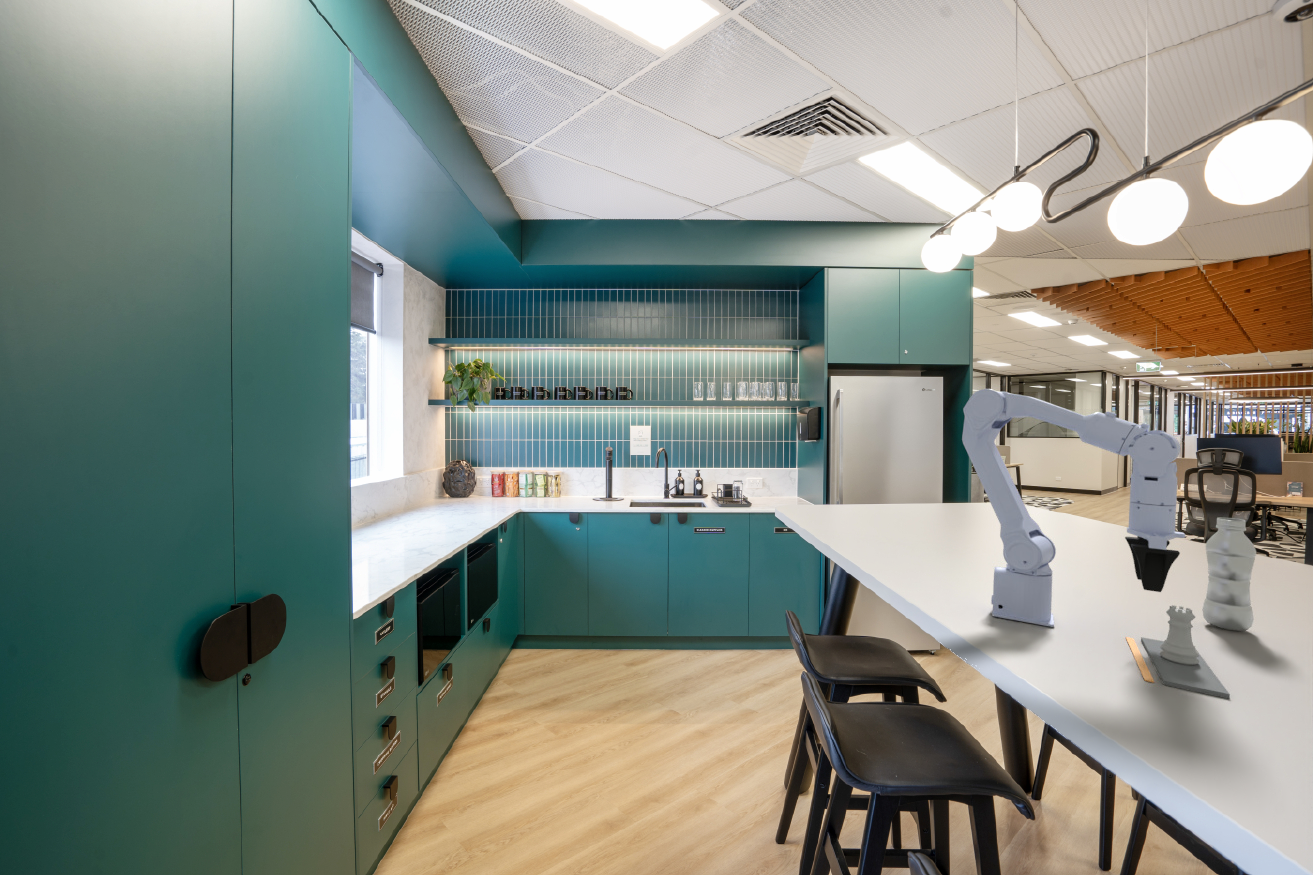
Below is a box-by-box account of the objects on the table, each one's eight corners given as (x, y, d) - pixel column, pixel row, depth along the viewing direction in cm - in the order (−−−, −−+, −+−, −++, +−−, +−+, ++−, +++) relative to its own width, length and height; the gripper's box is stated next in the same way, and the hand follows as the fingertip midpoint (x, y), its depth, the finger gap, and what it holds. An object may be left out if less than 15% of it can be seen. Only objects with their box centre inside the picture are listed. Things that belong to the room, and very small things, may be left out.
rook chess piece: (1207, 667, 81) (1209, 614, 81) (1171, 664, 82) (1173, 611, 82) (1185, 655, 86) (1187, 604, 85) (1152, 652, 87) (1153, 602, 86)
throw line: (1144, 680, 78) (1144, 679, 78) (1125, 638, 94) (1125, 636, 94) (1154, 682, 77) (1154, 681, 77) (1133, 639, 94) (1133, 638, 94)
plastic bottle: (1237, 624, 102) (1241, 517, 102) (1263, 637, 96) (1267, 523, 95) (1193, 620, 104) (1197, 515, 104) (1216, 632, 98) (1220, 520, 98)
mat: (1163, 684, 77) (1163, 680, 77) (1140, 640, 93) (1141, 637, 93) (1229, 698, 73) (1229, 694, 73) (1193, 650, 89) (1193, 646, 89)
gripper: (1195, 511, 82) (1191, 600, 83) (1177, 501, 94) (1173, 580, 95) (1133, 506, 87) (1129, 591, 87) (1123, 497, 98) (1120, 572, 99)
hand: (1148, 585), depth 91 cm, fingers open, 7 cm apart
